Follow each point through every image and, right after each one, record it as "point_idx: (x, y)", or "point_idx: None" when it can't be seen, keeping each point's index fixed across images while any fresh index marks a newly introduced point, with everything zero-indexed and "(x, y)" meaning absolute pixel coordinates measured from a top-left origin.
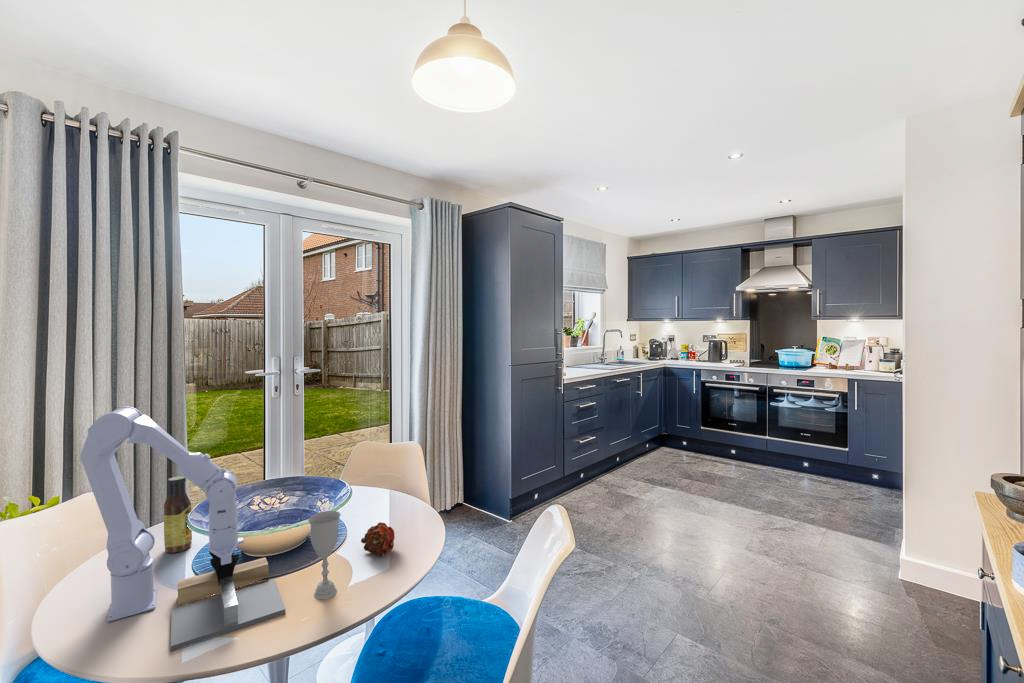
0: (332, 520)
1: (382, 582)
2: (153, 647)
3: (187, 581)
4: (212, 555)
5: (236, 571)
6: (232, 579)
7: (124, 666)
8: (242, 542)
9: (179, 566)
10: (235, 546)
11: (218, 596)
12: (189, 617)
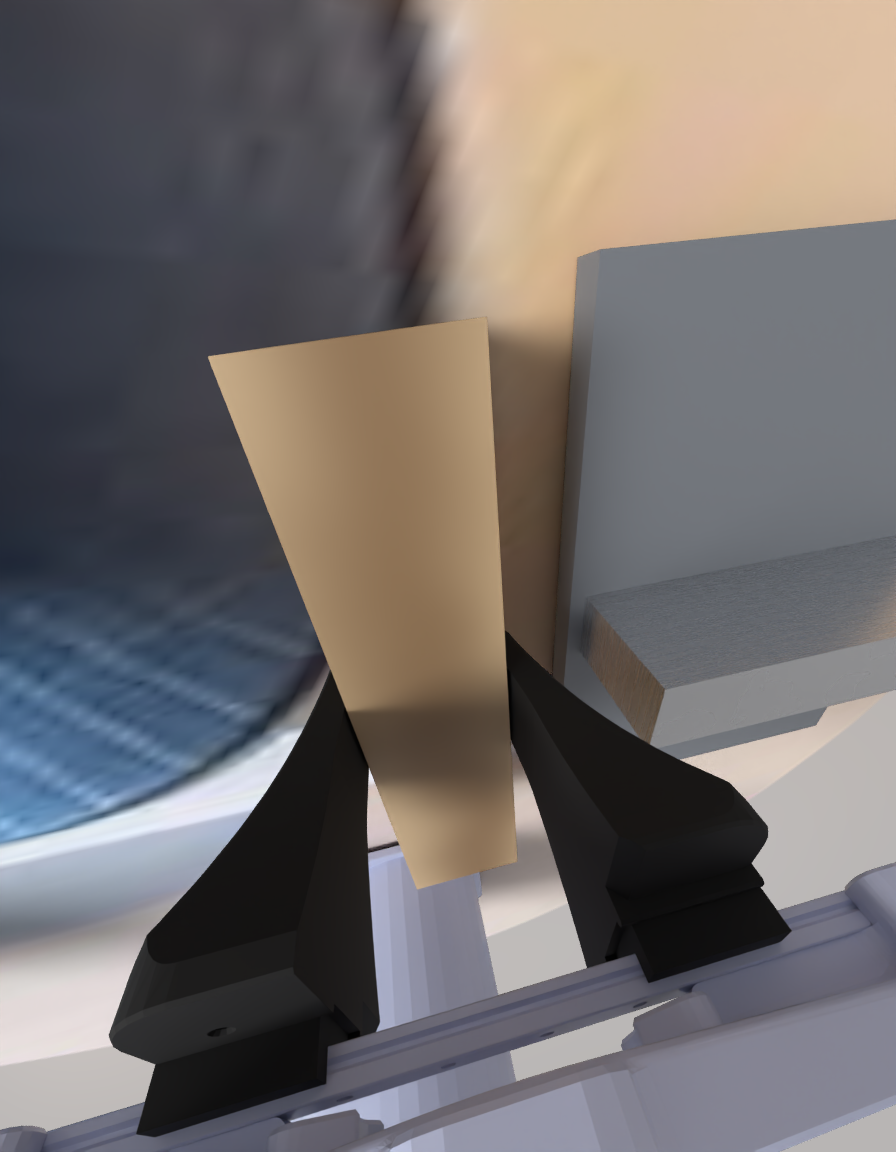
0: None
1: None
2: (725, 754)
3: (451, 856)
4: (375, 971)
5: (478, 654)
6: (729, 676)
7: (754, 781)
8: (636, 1094)
9: (17, 882)
10: (817, 1099)
11: (572, 659)
12: None
